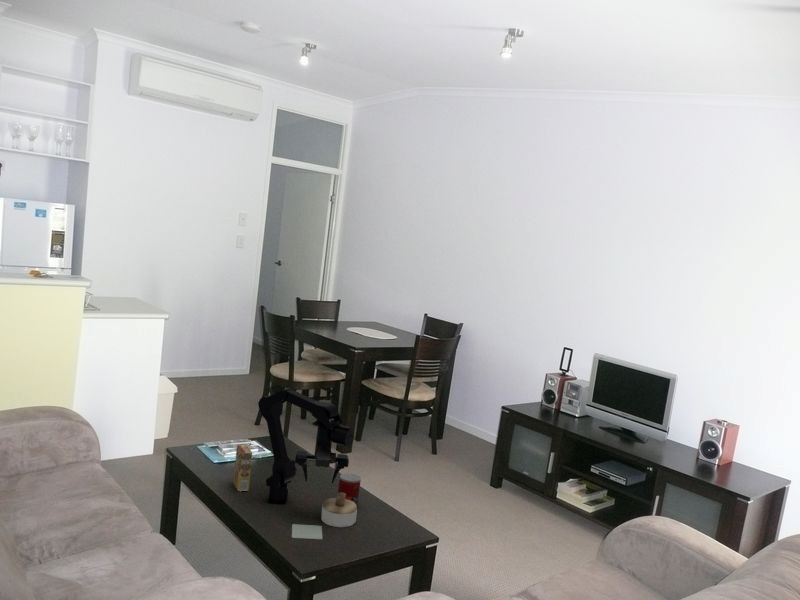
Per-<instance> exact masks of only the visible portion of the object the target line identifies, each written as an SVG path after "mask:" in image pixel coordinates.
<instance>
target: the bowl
mask: <svg viewBox="0 0 800 600" xmlns="http://www.w3.org/2000/svg"><path fill="white" fill-rule="evenodd" d="M357 512H358V509H356V511H355V512H353V513H350V514H335V513H331V512H329V511H327V510H325V509H324V508H323V504H322V507H321V512H320V513H321V518H320V519H321V521H322V522H323V523H324V524H326V525H327V526H331V527H335V528H348V527H351V526H353V525H355V523H356V521H357V515H358V513H357Z"/></svg>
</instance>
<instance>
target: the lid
mask: <svg viewBox="0 0 800 600" xmlns="http://www.w3.org/2000/svg"><path fill="white" fill-rule="evenodd" d="M345 497H346V494H345V493H343V492H338V491H337V492H336V497H334V498H333V497H330V498H327V499H325V500H324V501H323V502H322V505H323V508H324V509H325V510H327V511H329V512H331V513H335V514H350V513H353V512H355V511H356V509H357V508H358V505H356V504H355V503H354V502H352V501H350V500H347V499H345ZM357 510H358V509H357Z"/></svg>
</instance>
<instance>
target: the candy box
mask: <svg viewBox="0 0 800 600" xmlns="http://www.w3.org/2000/svg"><path fill="white" fill-rule="evenodd" d="M235 450H236V453H235V462H234V474H233V485H234V488H237V489H236V491H237V490H238V491H240V492H239V493H242V492H241V491H248V492H249V490H250V480H251V472H252V471H251V469H252V460H253V452H252V450H251V449H250V447H249V446H248V445H247V444H244V445H243V444H241V445H240V444H239V445H236V449H235ZM238 491H237V492H238Z"/></svg>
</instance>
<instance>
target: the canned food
mask: <svg viewBox="0 0 800 600" xmlns="http://www.w3.org/2000/svg"><path fill="white" fill-rule="evenodd" d="M361 481H362V479H361V476H359V475H357V474H354V473H350V472H349V473H348V472H347V473H345V472H344V473H341V474H340V475H339V480H338V489H337V493H338V492H343V493H345V494H346V497H345V499H347V500H350V501H352V502H354V503H355V504H356V505H357V506H358V505H359V495H360V488H361Z"/></svg>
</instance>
